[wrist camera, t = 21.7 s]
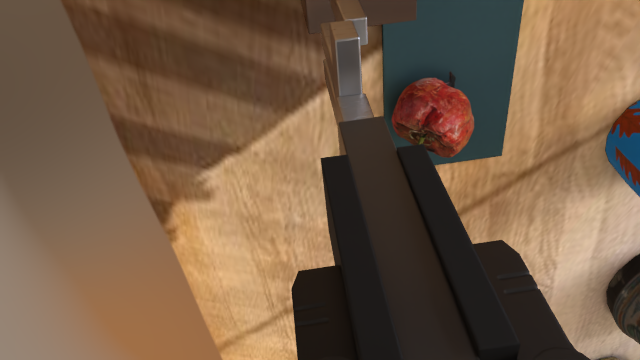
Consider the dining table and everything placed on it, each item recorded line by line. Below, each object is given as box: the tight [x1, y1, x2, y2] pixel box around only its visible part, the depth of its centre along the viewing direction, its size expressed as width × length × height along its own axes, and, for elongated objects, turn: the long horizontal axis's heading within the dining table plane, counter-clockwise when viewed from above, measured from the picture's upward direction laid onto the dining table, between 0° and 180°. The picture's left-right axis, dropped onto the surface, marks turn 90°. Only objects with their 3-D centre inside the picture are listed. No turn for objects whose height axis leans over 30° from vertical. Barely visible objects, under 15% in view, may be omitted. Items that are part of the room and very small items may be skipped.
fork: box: [320, 0, 480, 360], centre depth 15 cm, size 6×2×20 cm, turn 5°
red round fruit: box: [392, 71, 474, 158], centre depth 48 cm, size 7×7×10 cm
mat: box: [382, 0, 524, 165], centre depth 50 cm, size 18×12×1 cm
